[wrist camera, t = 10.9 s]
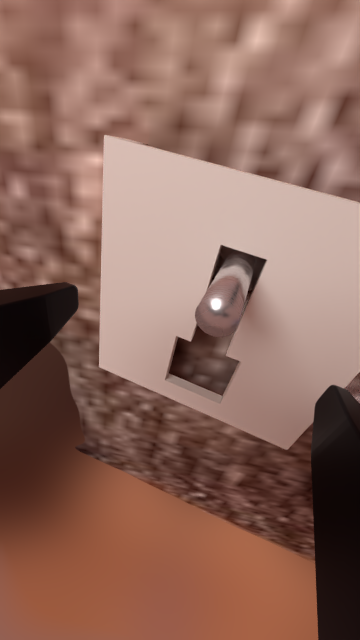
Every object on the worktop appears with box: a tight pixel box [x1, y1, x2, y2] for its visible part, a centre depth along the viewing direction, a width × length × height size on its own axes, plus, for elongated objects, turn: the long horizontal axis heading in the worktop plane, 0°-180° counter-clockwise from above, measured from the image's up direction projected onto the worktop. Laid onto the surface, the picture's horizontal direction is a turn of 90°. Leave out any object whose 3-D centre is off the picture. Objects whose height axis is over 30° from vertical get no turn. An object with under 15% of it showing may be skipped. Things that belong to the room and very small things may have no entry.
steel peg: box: [195, 245, 266, 337], centre depth 15 cm, size 4×4×9 cm
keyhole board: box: [99, 135, 360, 450], centre depth 20 cm, size 20×20×3 cm
